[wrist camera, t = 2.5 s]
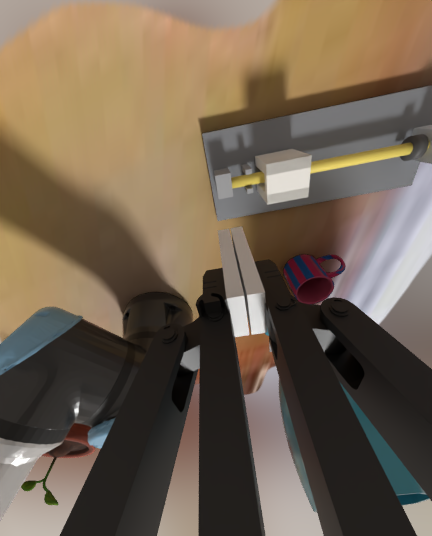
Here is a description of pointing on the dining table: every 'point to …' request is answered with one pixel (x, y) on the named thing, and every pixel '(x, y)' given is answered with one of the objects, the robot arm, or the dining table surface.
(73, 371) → the robot arm
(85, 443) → the potted plant
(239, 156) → the linear slide mechanism
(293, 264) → the mug
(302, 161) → the sleeve
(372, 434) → the vase
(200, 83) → the dining table surface
